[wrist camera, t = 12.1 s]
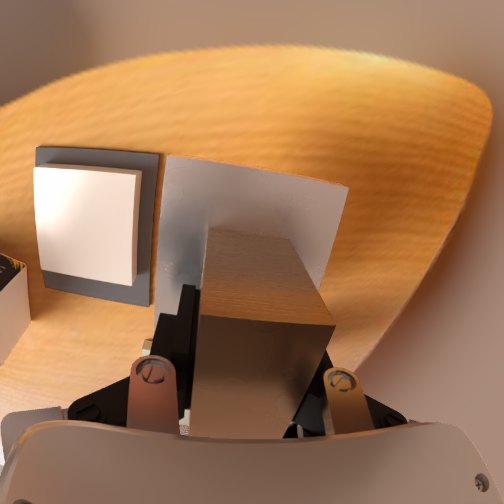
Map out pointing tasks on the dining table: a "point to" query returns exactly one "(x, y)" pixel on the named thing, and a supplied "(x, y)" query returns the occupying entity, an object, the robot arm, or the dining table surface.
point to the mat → (149, 168)
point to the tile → (88, 221)
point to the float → (247, 287)
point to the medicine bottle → (12, 304)
